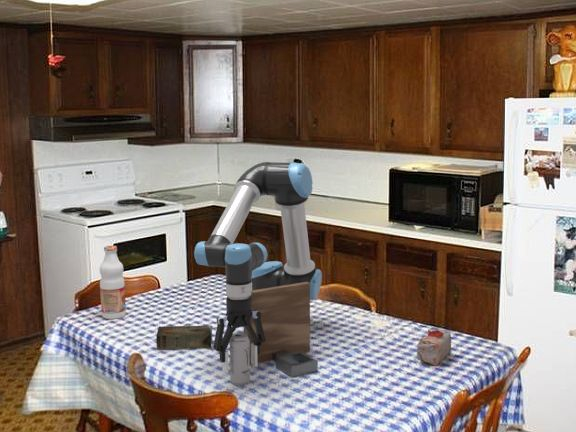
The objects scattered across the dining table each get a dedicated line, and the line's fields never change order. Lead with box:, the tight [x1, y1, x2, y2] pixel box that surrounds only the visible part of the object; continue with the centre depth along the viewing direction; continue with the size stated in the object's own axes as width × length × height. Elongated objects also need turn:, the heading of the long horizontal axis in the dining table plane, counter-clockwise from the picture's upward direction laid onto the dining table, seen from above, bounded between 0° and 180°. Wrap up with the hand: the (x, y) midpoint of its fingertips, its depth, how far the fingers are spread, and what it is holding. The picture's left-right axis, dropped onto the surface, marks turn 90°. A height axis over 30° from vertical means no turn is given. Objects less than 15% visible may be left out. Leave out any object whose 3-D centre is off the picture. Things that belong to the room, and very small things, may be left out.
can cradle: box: [272, 350, 319, 378], centre depth 224 cm, size 16×10×4 cm, turn 31°
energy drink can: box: [229, 332, 251, 387], centre depth 210 cm, size 6×6×15 cm
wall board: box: [243, 282, 311, 366], centre depth 230 cm, size 2×24×24 cm, turn 121°
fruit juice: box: [99, 245, 127, 320], centre depth 275 cm, size 9×9×28 cm
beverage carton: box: [155, 325, 213, 351], centre depth 243 cm, size 8×19×7 cm, turn 95°
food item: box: [416, 328, 452, 366], centre depth 229 cm, size 14×8×10 cm, turn 147°
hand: (240, 368), depth 211 cm, fingers open, 9 cm apart
